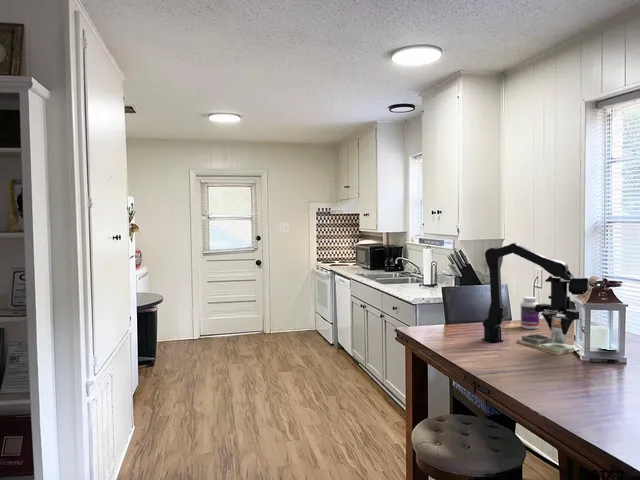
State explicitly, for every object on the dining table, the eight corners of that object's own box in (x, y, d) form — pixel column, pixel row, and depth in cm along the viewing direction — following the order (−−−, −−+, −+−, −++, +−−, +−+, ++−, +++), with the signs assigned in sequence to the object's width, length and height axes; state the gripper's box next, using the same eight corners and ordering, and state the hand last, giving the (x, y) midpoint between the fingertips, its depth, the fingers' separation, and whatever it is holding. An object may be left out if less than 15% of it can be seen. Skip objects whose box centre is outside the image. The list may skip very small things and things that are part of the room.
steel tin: (559, 344, 179) (559, 318, 179) (548, 341, 184) (548, 316, 184) (569, 342, 181) (569, 317, 181) (557, 339, 186) (558, 314, 186)
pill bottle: (542, 329, 215) (542, 298, 215) (524, 329, 215) (524, 299, 215) (534, 325, 223) (534, 295, 223) (517, 325, 224) (517, 296, 223)
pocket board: (557, 354, 176) (557, 348, 176) (516, 342, 195) (516, 336, 195) (580, 350, 181) (580, 344, 181) (538, 338, 199) (538, 332, 199)
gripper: (595, 295, 176) (595, 336, 177) (553, 288, 193) (553, 326, 194) (574, 297, 172) (574, 339, 173) (533, 291, 189) (533, 328, 190)
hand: (558, 333), depth 182 cm, fingers closed on steel tin, 5 cm apart
